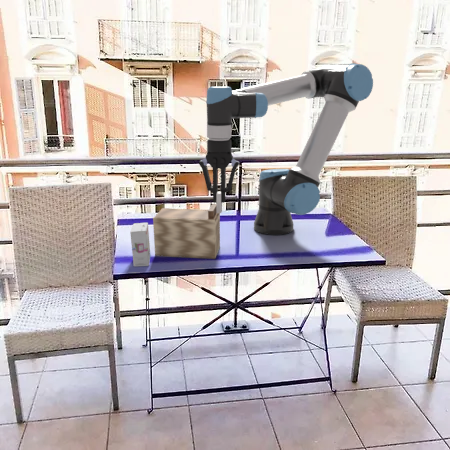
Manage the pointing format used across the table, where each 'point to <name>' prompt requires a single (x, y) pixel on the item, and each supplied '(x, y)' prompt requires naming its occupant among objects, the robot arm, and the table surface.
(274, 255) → the table surface
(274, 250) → the table surface
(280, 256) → the table surface
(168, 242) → the box
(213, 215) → the lid
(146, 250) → the ink box
